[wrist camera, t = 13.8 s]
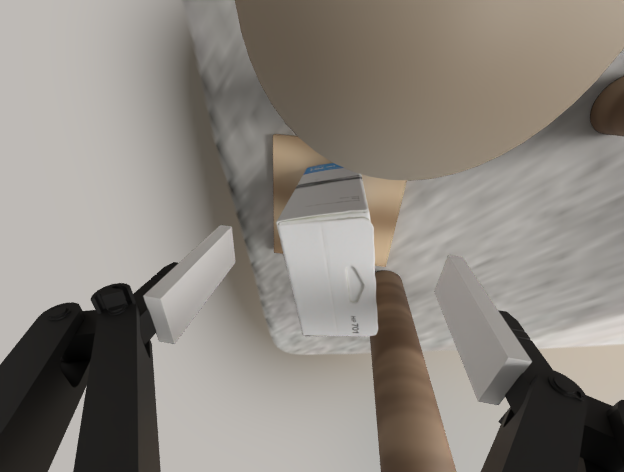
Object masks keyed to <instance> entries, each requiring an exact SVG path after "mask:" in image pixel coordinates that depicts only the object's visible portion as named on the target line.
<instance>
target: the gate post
mask: <svg viewBox="0 0 624 472" xmlns="http://www.w3.org/2000/svg"><path fill="white" fill-rule="evenodd" d="M235 3H236V8H237V13H238V18H239V23H240V28H241V32H242V36H243V39H244V42H245V45H246V49H247V52H248V55H249V58H250V61H251V63H252V65H253V68H254V70H255V72H256V75H257V77H258V79H259V82H260V84H261V86H262V88H263V89H264V91H265V93H266V95H267V96H268V98H269V100H270V102H271V103H272V105H273V107H274V108H275V109H276V111H277V112H278V113H279V115H280V116H281V118H282V119H283V120H284V122H285V123H286V124H287V125H288V126H289V127H290V128H291V129H292V131H293V132H294V133H295V134H296V135H297V136H298V137H299V138H300V139H301V140H302V141H303V142H305V143H306V144H307V145H308V146H309V147H311V148H312V149H313V150H314V151H315V152H317V153H318V154H320V155H322V156H323V157H325V158H326V159H328V160H329V161H331V162H333V163H335V164H337V165H339V166H341V167H343V168H346V169H348V170H350V171H353V172H356V173H359V174H363V175H366V176H369V177H375V178H381V179H387V180H407V181H411V180H423V179H432V178H437V177H442V176H447V175H452V174H455V173H458V172H461V171H464V170H467V169H471V168H474V167H476V166H479V165H481V164H483V163H485V162H488V161H490V160H492V159H494V158H497V157H499V156H501V155H502V154H504V153H506V152H508V151H509V150H511V149H513V148H515V147H516V146H518V145H520V144H522V143H524V142H525V141H526V140H528V139H529V138H531V137H532V136H533V135H535V134H536V133H538V132H539V131H541V130H542V129H543V128H545V127H546V126H548V125H549V124H550V123H551V122H553V121H554V120H555V119H556V118H557V117H558V116H560V115H561V114H562V113H563V112H564V111H566V110H567V109H568V108H569V107H570V106H571V105H573V104H574V103H575V102H576V101H577V100H578V99H579V98H580V97H581V96H582V95H583V94H584V93H585V92H586V91H587V90H588V89H589V88H590V87H591V86H592V85H593V84H594V83H595V82H596V81H597V80H598V78H599V77H600V76H601V75H602V74H603V72H604V71H605V70H606V69H607V68H608V67H609V65H610V64H611V63H612V62H613V61H614V59H615V58H616V57H617V56H618V55H619V53H620V52H621V51H622V50H623V48H624V0H235Z"/></svg>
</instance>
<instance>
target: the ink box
mask: <svg viewBox="0 0 624 472" xmlns="http://www.w3.org/2000/svg"><path fill="white" fill-rule="evenodd" d="M276 224H277V229H278V233H279V236H280V240H281V246H282V250H283V254H284V258H285V262H286V266H287V271H288V275H289V279H290V283H291V287H292V291H293V295H294V300H295V304H296V308H297V313H298V317H299V321H300V325H301V329H302V334H303V336H305V337H325V336H374V335H376V334H377V331H378V322H377V320H378V317H377V303H376V278H375V249H374V227H373V225H372V223H371V221H370V213H369V209H368V204H367V199H366V195H365V190H364V185H363V180H362V175H361V174H359V173H356V172H353V171H350V170H348V169H346V168H343V167H341V166H339V165H337V164H335V163H329V164H323V165H317V166H313V167H309V168H307V169H306V171H305V173H304V174H303V176H302V178H301V179H300V181H299V183H298V185H297V187H296V188H295V190H294V192H293V194H292V196H291V197H290V199H289V201H288V202H287V204H286V206H285V208H284V209H283V211H282V213H281V215H280V217H279V218H278V220H277V222H276Z"/></svg>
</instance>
